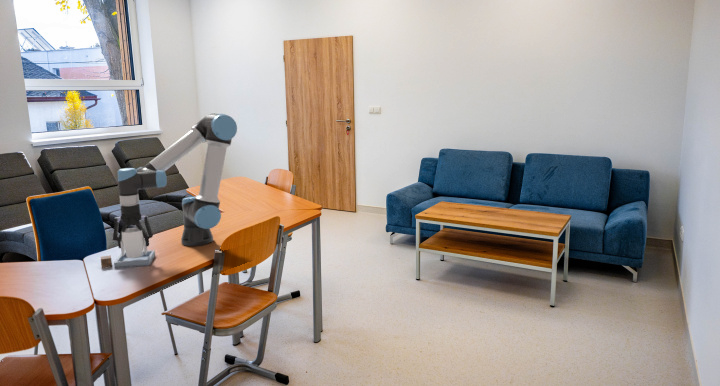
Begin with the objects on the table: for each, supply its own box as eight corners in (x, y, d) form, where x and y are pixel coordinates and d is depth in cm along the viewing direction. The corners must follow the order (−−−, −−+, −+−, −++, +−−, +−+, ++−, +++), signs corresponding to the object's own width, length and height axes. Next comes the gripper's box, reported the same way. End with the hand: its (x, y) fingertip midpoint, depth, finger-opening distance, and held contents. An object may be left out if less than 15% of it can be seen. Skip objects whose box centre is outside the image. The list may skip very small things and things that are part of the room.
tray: (155, 255, 229) (154, 250, 228) (149, 265, 215) (148, 260, 215) (122, 257, 226) (121, 252, 225) (114, 268, 212) (113, 262, 212)
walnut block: (111, 264, 218) (110, 255, 217) (112, 266, 214) (111, 257, 214) (101, 265, 216) (100, 256, 215) (101, 268, 213) (100, 259, 212)
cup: (132, 252, 225) (129, 226, 223) (150, 253, 223) (147, 227, 221) (119, 258, 216) (116, 232, 214) (137, 260, 215) (135, 233, 212)
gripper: (157, 201, 221) (161, 249, 226) (105, 203, 217) (110, 253, 221) (154, 204, 214) (159, 255, 218) (100, 207, 209) (106, 258, 214)
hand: (134, 254), depth 220 cm, fingers closed on cup, 9 cm apart
